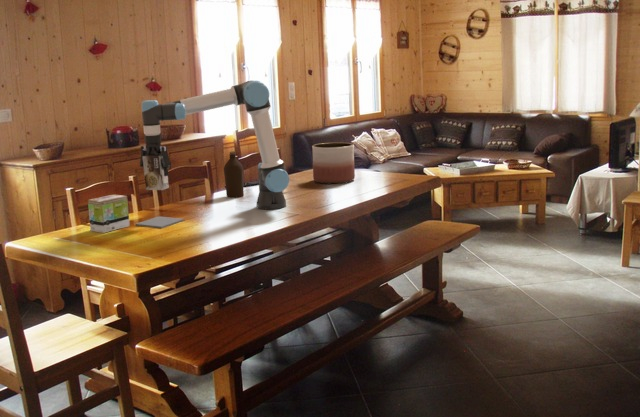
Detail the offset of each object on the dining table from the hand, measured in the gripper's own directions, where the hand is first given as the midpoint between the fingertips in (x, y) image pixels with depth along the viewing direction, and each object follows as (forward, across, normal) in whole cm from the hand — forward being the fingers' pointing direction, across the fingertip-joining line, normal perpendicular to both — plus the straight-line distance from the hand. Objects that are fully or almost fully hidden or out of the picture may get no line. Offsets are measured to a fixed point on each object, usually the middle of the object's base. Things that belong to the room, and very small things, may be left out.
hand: (156, 182), depth 315 cm
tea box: (+20, +15, +17) cm, 30 cm away
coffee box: (+3, 0, 0) cm, 3 cm away
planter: (+20, -28, -125) cm, 130 cm away
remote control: (+20, +14, -97) cm, 100 cm away
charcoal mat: (+20, 0, 0) cm, 20 cm away
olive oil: (+20, +3, -65) cm, 68 cm away
